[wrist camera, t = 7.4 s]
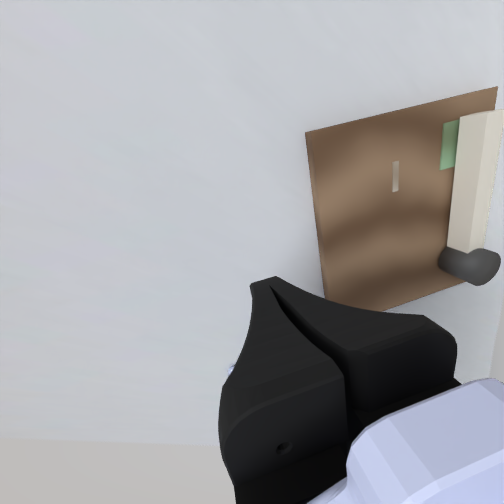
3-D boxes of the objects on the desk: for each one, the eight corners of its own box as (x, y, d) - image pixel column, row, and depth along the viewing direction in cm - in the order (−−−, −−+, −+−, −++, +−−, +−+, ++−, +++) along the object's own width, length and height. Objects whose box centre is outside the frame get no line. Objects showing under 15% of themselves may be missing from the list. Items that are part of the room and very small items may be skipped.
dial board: (459, 276, 28) (469, 280, 27) (327, 322, 26) (333, 329, 25) (484, 89, 21) (499, 86, 20) (304, 132, 19) (311, 131, 18)
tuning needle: (464, 266, 26) (497, 279, 23) (437, 275, 25) (467, 290, 22) (485, 110, 20) (532, 103, 17) (451, 119, 20) (494, 113, 17)
